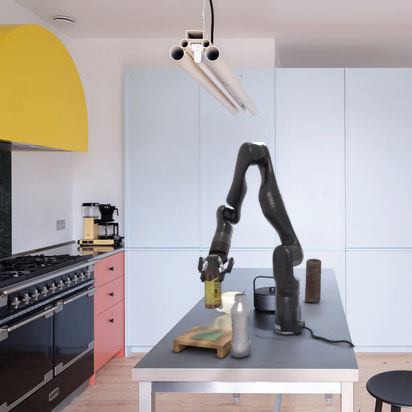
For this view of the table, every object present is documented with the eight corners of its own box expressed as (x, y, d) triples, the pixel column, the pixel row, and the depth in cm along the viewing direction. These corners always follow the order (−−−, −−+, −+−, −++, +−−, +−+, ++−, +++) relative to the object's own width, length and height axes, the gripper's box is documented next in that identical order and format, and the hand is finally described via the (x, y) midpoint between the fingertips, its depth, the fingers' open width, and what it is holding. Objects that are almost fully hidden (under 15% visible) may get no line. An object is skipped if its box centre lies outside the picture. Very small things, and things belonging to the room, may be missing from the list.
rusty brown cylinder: (321, 300, 199) (322, 258, 198) (320, 304, 192) (320, 261, 191) (306, 299, 201) (306, 258, 200) (303, 303, 193) (304, 261, 192)
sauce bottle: (217, 310, 154) (216, 257, 153) (201, 309, 156) (200, 256, 155) (224, 305, 161) (223, 254, 160) (209, 304, 162) (208, 253, 161)
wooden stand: (241, 342, 145) (241, 330, 145) (222, 358, 132) (222, 345, 132) (195, 336, 150) (195, 325, 150) (173, 351, 137) (173, 339, 137)
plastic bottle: (230, 352, 137) (230, 292, 136) (251, 351, 137) (251, 291, 136) (228, 360, 130) (228, 297, 129) (250, 359, 131) (250, 297, 130)
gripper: (200, 239, 165) (189, 275, 154) (236, 240, 164) (227, 276, 152) (205, 250, 171) (195, 286, 159) (239, 251, 169) (232, 287, 158)
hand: (211, 281), depth 156 cm, fingers closed on sauce bottle, 6 cm apart
